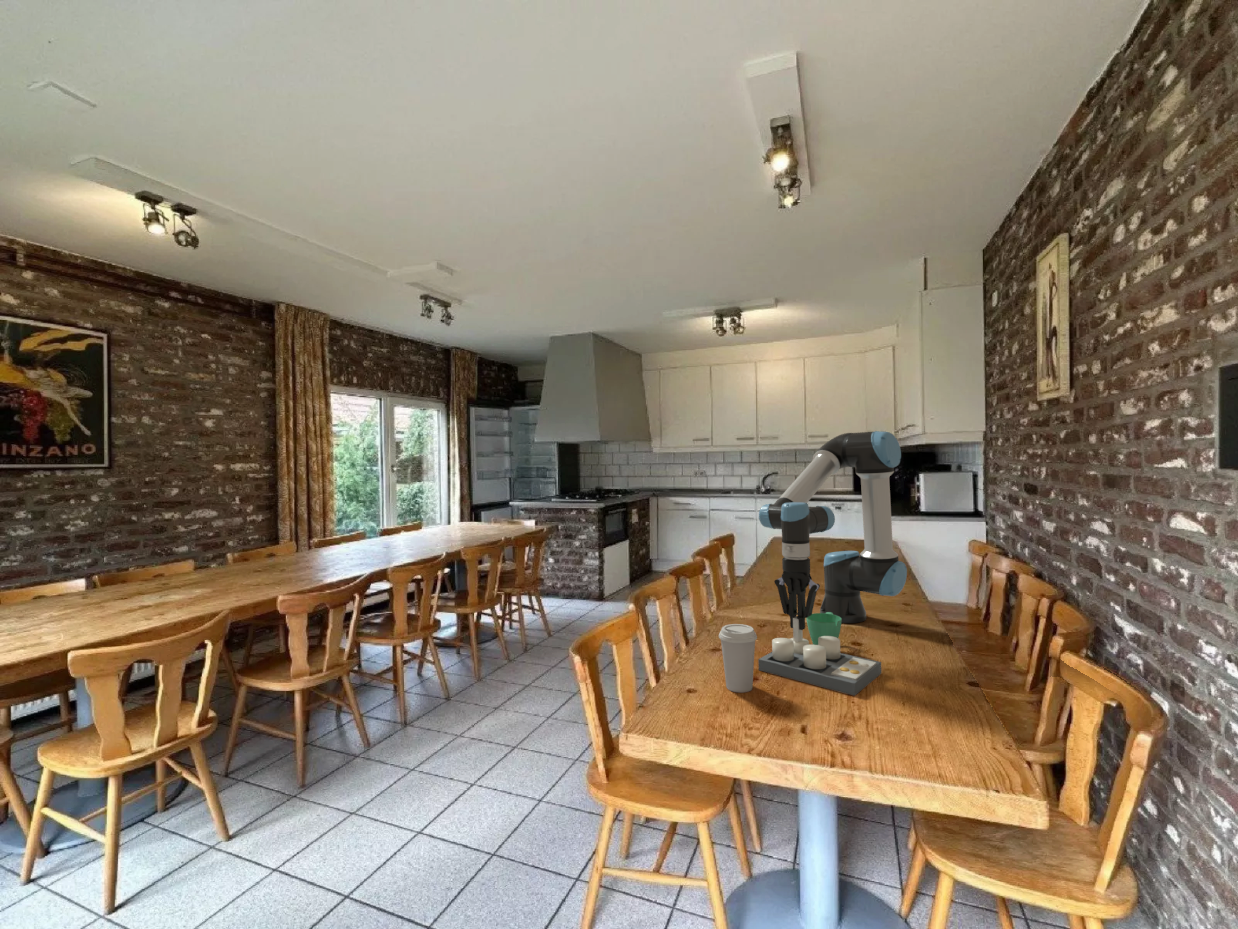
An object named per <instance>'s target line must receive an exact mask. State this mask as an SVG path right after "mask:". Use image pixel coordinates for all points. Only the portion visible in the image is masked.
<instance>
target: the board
mask: <svg viewBox="0 0 1238 929" xmlns="http://www.w3.org/2000/svg"><path fill="white" fill-rule="evenodd" d="M840 656H841V657H840V658H839V659H826V668H824V669H810V668H807V667H805V666H804V660H803V655H801V654H796V653H794V659H793V660H791V661H778V660H775V659H774V658H773V654H772V651H771V652H769V653H767V654H765V655H763V656H762V657H760V658H758V671H761V672H764V673H768V674H772V675H776V676H779V677H783V678H786V679H791V680H795V681H798V682H801V683H806V684H810V685H813V686H817V687H821V688H823V689H824V688H825V689H827V690H830V691H835V692H838V693H842V694H846V695H850V696H854V697H855V696H856V695H857V694H859V693H860V692H861V691H863V689H865V688H866V687H867V686H868V685H869V684H870V683H872V682H873V681H875V679H876V678H878V677H879V676H881V674H882V661H878V660H872V659H869V658H864V657H859V656H857V655H850V654H847V653H841V652H840Z"/></svg>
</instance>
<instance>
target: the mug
mask: <svg viewBox="0 0 1238 929" xmlns="http://www.w3.org/2000/svg"><path fill="white" fill-rule="evenodd" d="M805 621H806V625H807V629H808V632H809V636H810V638H811V643H812V645H818V638H819V637H821V636H833V637H837V638H839V637H840V634H841V629H842V628H841V627H842V623H841V618H840V617H839V616H837V615H834V614H833V613H831V612H827V613H820V612H815V613H812V615H811V616H809V617H807V618H805ZM839 639H840V638H839Z"/></svg>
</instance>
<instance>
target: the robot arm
mask: <svg viewBox="0 0 1238 929" xmlns="http://www.w3.org/2000/svg"><path fill="white" fill-rule="evenodd" d="M901 459H902V450H901V445H900V443H899V440H898V438H896V437H895V435H894V434H893V433H892V432H889V431H879V430H878V431H877V430H875V431H864V432H863V431H862V432H845V433H841V434H839V435H837V436H835V437H833V438H831V439H829V440H828V441H827V442H825V443H824V444H823V445H822V446H820V447H819V448H818V449H817V450H816V452H815V453H814V454H813V456H812V461H811V462H810V463H809V464H808V465H807V466H806V467H805V468H804V470H803V471H801V473H800V474H799V475H798V476H797V478H795V480H794V481H792V483H791V484H790V485H789V486H788V488H787V489H786V490H785V491H784V492H783V493H782V494H781V495H780V496H779V498H777V500H776V501H775V502H774V503H767V504H766V503H765V504H763V505H761V507H760V509H759V511H758V519H759V522H760V525H762V526H763V527H764V528H769V529H773V530H781V555H782V556H783V557H782V560H781V561H782V563H781V564H782V565H781V566H782V568H781V569H782V574H781V577H779V578H776V579H775V580H773V581H774V584H775V586H776V587H777V591H778V595H779V599H780V603H781V606H782V611H783V612H782V613H783V614H785V615H787V616H789V626H790V628H791V629H792V635H793V636H792V638H793V641H796V642H799V641H801V640H803V638H804V637H803V636H804V635H803V632H804V631H803V630H805V629H806V618H807V617H809V616H811V615H812V614H813V612H814V611H813V610H814V605H815V602H816V597H817V592H818V591H819V589H820V587H821V584H819V583H816V582H815V581H814V580H812V576H811V559H810V558H809V557H811V550H810V549H811V548H810V547H811V546H810V545H811V544H810V535H811V534H817V533H818V534H819V533H825V532H826V531H829V530H831V529H832V528H833V527H834V525H835V524H836V523H835V521H836V518H835V513H834V511H833V510H832V509H831V508H829V507H828V506H825V505H816V506H809V504H808V503H809V501H810V500H811V499H812V498H813V496H814V495H815V494H816V493H817V492H818V491H819V490H820V489H821V487H822V486H823V485H824V483H826V481H828V479H829V477H831V475H834V474H837V473H838V472H839V471H840V470H841V469H843V468H854V470H855V474H856V475H857V476H858V477H859V478H860V485H861V507H862V522H863V523H862V524H863V526H862V527H863V543H864V545H863V546H864V547H863V548H864V549H863V550H862V551H861V552H859V551H858V550H841V551H833V552H828V553H826V554H825V556H824V557H823V559H824V560H823V572H824V573H823V574H824V575H823V576H824V578H823V579H824V596H823V599H822V603H821V605H820V608H819V613H827V612H831V613H833V614H834V615H837V616H839V617H840V618H841V624H842V623H843V624H856V623H861V622H864V621H866V620H867V612H866V611H867V610H866V609H865V605H864V603H863V600H862V597H861V592H863V593H869V594H875V595H880V596H884V597H885V596H886V597H887V596H888V597H896V596H898V595H899V594H900V593H901V592H902V590H903V589H904V587H905V585H906V581H907V576H908V568H907V566H906V564H905V562H903V561H902V560H900V559H899V553H898V552H896V551H895V550H894V546H893V543H894V542H893V527H892V526H893V524H892V523H893V522H892V506H891V505H892V504H891V503H892V502H891V490H890V489H891V488H890V487H891V485H890V476H892V475H893V474H894V473H895V468H896V467H897V466H899V465H900V463H901ZM807 588H808V589H809V591H808V592H807ZM806 592H807V598H806Z"/></svg>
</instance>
